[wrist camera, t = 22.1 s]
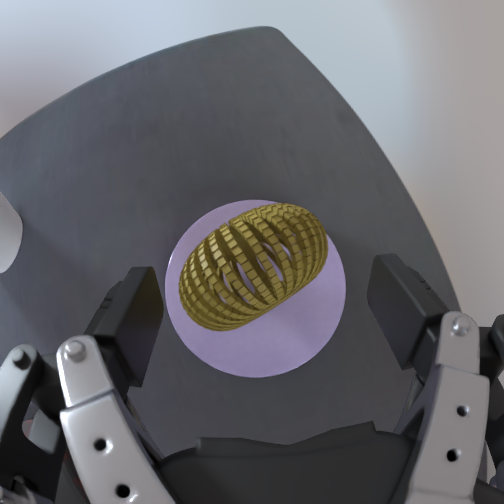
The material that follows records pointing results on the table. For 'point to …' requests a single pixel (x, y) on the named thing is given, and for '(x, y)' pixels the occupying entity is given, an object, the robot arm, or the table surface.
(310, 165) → the table surface
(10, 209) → the cup
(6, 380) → the robot arm
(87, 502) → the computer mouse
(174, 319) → the saucer
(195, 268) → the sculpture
